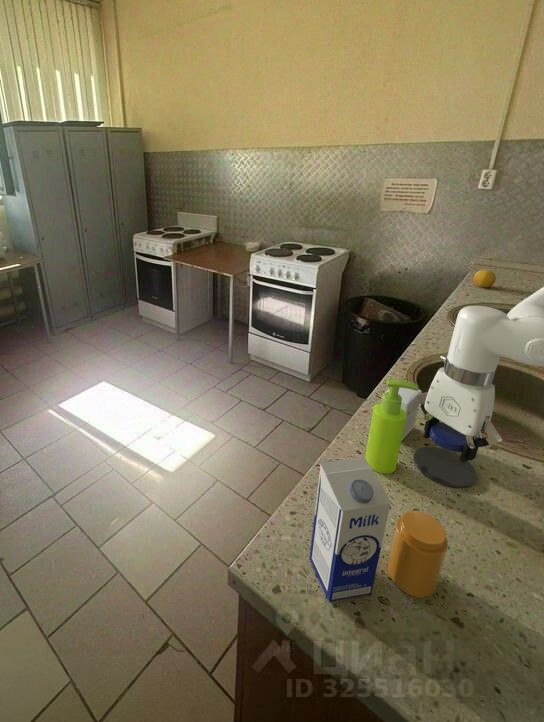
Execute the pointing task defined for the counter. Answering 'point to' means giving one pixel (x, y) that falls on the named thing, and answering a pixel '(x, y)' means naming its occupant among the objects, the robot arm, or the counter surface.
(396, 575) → the jar
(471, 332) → the robot arm
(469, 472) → the coaster
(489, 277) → the fruit
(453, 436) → the lid
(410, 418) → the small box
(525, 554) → the counter surface
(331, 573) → the milk carton
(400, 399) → the soap dispenser
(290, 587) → the counter surface
